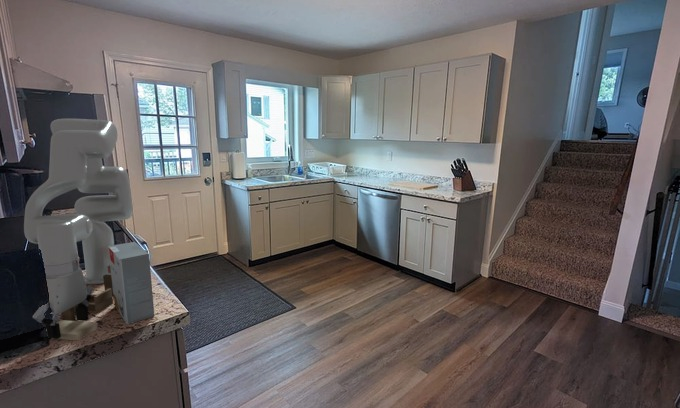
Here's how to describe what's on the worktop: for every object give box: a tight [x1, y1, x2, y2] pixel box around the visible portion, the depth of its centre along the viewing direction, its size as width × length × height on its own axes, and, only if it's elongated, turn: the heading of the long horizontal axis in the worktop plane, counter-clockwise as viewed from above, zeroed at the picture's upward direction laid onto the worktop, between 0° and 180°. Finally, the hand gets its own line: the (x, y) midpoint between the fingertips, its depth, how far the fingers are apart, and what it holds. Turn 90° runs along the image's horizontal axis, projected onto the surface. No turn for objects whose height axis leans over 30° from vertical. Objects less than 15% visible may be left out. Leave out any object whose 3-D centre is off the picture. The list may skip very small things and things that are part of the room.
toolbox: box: [60, 274, 114, 321], centre depth 104 cm, size 17×10×7 cm, turn 175°
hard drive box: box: [108, 241, 155, 325], centre depth 101 cm, size 16×8×20 cm, turn 45°
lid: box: [57, 319, 98, 341], centre depth 91 cm, size 6×11×2 cm, turn 85°
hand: (69, 328), depth 91 cm, fingers open, 8 cm apart
